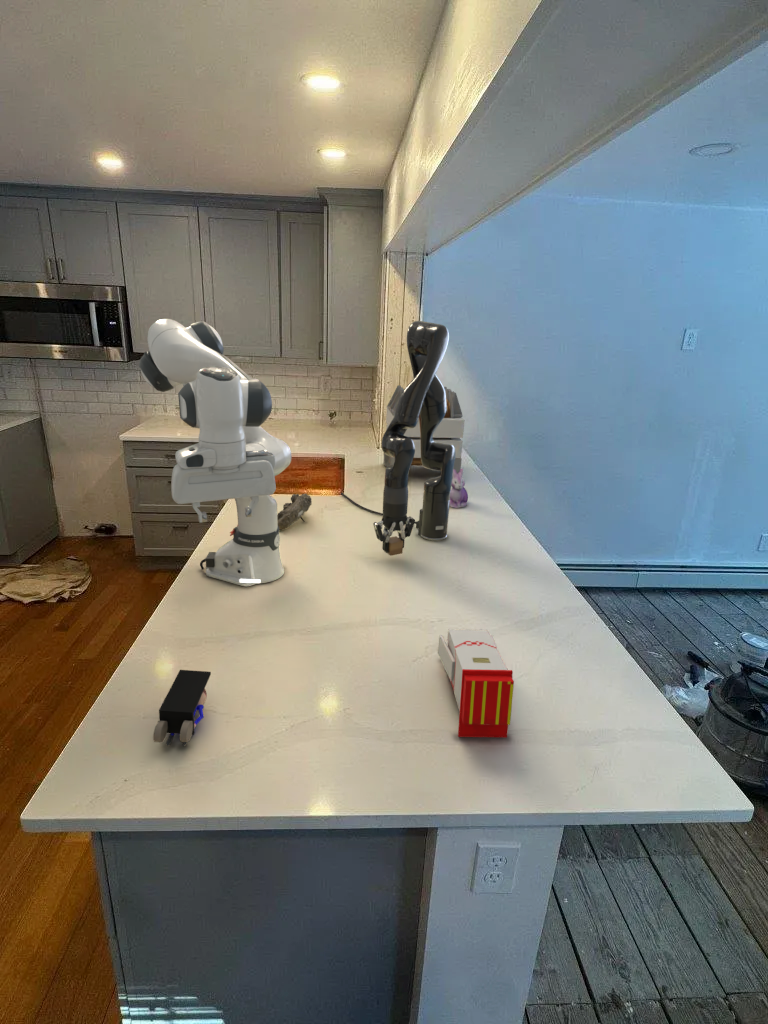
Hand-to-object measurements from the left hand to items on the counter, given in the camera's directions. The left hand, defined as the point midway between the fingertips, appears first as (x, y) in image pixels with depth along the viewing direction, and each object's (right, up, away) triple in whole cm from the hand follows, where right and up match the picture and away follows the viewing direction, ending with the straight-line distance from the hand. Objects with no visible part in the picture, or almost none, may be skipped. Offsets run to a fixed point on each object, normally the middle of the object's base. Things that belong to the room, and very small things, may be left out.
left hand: (226, 518), depth 116 cm
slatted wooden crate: (+50, +20, +159) cm, 168 cm away
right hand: (+35, -11, +62) cm, 72 cm away
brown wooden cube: (+35, -11, +62) cm, 72 cm away
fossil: (-1, -2, +91) cm, 91 cm away
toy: (+50, -36, +3) cm, 62 cm away
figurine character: (-5, -38, -11) cm, 40 cm away
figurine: (+62, +4, +116) cm, 132 cm away
